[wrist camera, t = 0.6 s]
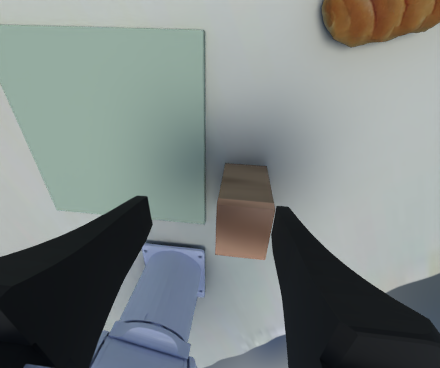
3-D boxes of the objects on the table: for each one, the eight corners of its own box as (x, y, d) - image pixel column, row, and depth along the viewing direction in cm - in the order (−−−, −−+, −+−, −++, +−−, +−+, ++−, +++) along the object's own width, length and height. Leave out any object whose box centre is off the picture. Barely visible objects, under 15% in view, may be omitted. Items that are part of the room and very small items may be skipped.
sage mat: (205, 221, 24) (204, 224, 24) (60, 207, 26) (56, 210, 25) (204, 30, 15) (203, 29, 15) (-18, 25, 17) (-27, 24, 16)
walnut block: (259, 207, 23) (264, 260, 17) (223, 204, 23) (215, 254, 17) (266, 166, 20) (275, 209, 14) (225, 163, 21) (216, 204, 15)
